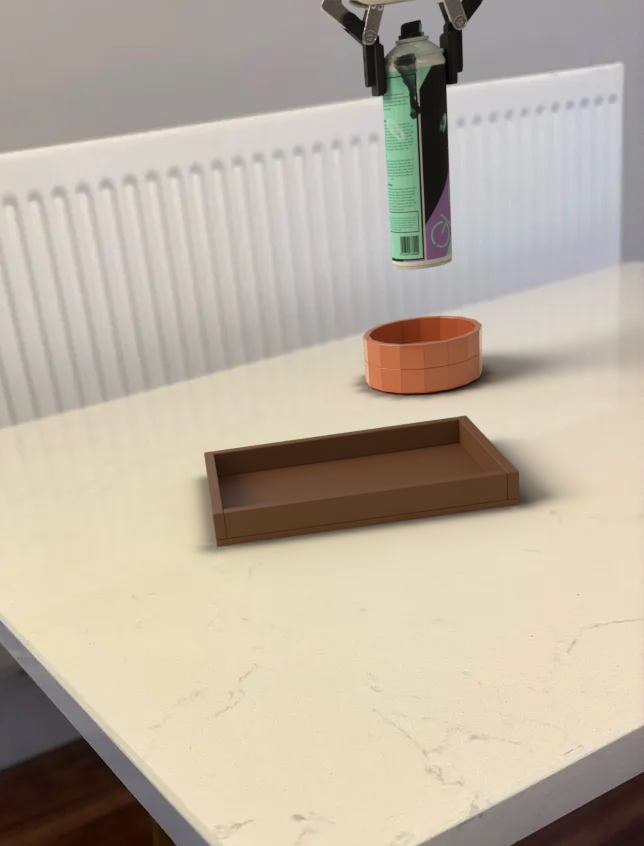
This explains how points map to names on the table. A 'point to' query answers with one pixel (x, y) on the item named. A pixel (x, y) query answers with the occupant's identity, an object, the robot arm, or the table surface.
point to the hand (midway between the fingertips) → (414, 87)
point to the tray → (356, 480)
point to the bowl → (423, 354)
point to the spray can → (417, 151)
